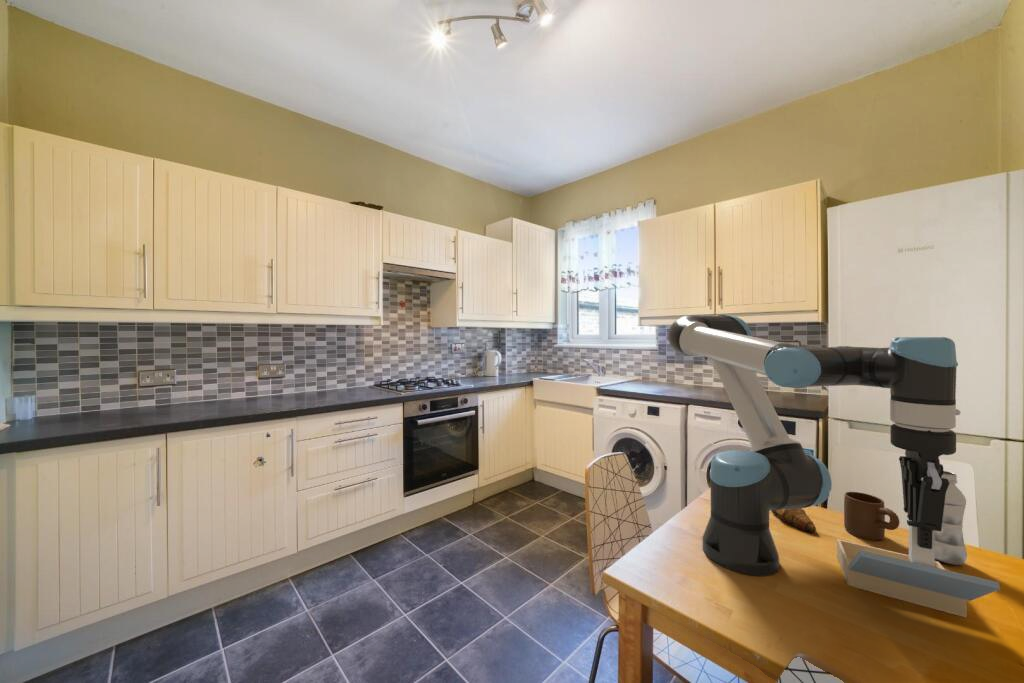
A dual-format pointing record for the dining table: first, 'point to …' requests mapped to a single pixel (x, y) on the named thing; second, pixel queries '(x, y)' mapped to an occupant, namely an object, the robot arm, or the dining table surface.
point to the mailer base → (892, 588)
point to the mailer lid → (922, 576)
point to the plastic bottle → (951, 525)
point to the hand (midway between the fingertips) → (921, 562)
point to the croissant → (796, 518)
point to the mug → (867, 516)
